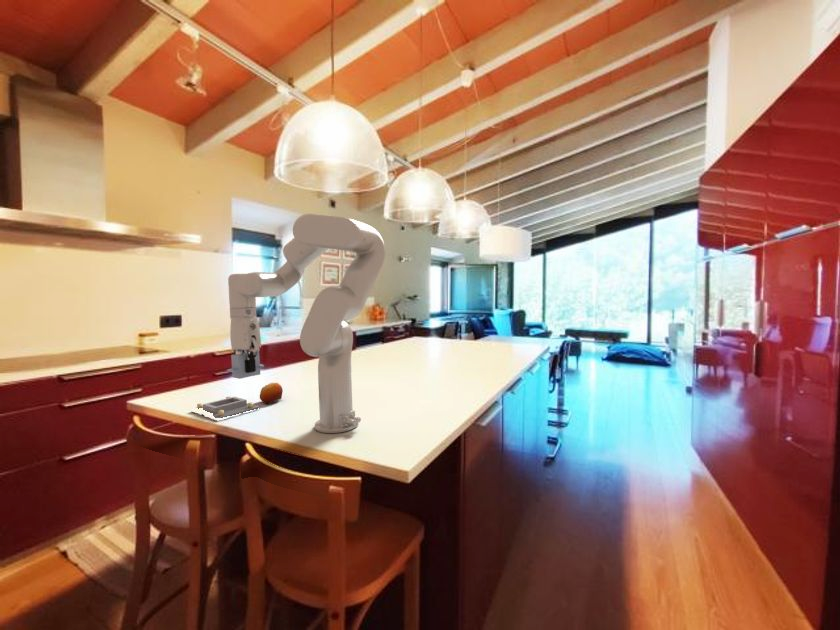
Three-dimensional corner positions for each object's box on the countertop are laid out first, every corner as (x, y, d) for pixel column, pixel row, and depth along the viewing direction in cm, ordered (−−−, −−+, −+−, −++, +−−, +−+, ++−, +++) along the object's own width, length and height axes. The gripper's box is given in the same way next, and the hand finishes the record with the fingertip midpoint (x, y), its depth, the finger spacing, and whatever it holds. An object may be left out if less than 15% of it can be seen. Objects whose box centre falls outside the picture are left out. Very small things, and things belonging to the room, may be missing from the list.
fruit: (283, 400, 138) (270, 381, 138) (265, 412, 139) (252, 393, 138) (291, 394, 146) (279, 376, 146) (273, 405, 147) (262, 387, 146)
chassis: (259, 409, 133) (259, 400, 133) (218, 421, 122) (217, 412, 122) (231, 401, 144) (230, 393, 143) (191, 411, 132) (190, 403, 132)
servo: (264, 373, 126) (263, 348, 126) (234, 379, 118) (233, 353, 118) (257, 372, 129) (256, 348, 128) (227, 378, 120) (226, 352, 120)
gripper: (269, 313, 120) (272, 371, 122) (240, 312, 130) (242, 366, 131) (247, 314, 114) (250, 376, 115) (217, 313, 124) (220, 370, 125)
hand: (246, 370), depth 123 cm, fingers closed on servo, 4 cm apart
